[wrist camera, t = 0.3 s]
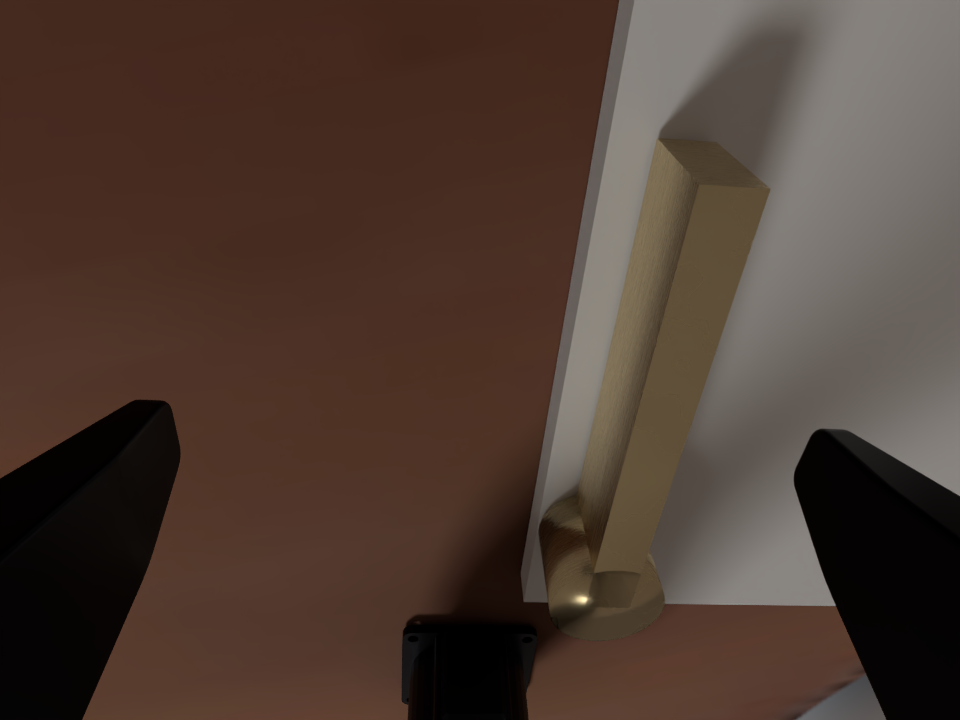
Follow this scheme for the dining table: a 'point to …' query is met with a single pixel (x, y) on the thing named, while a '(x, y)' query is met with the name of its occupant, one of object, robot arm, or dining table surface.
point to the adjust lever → (650, 387)
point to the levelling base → (780, 269)
